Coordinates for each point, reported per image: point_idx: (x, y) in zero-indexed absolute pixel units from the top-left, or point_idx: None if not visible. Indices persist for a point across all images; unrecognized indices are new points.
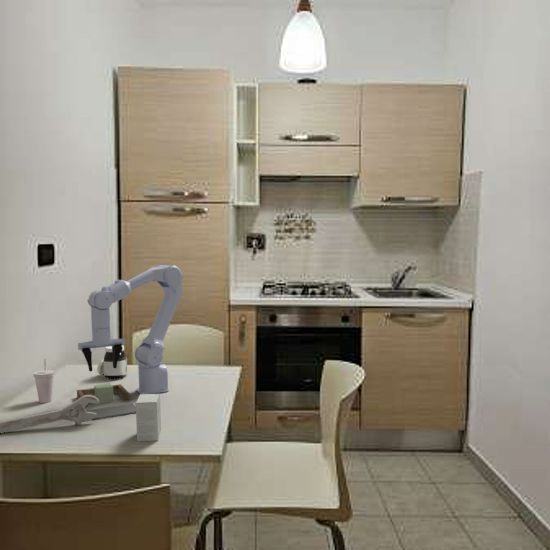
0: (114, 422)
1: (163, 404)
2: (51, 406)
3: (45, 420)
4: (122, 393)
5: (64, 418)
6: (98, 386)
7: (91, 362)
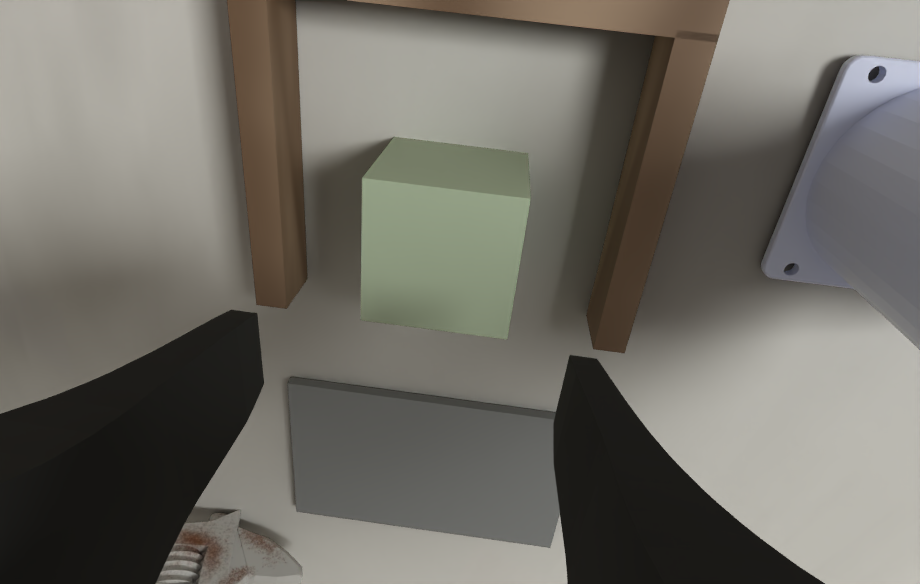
0: (389, 575)
1: (735, 506)
2: (46, 103)
3: None
4: (613, 243)
5: None
6: (389, 256)
7: (196, 498)
